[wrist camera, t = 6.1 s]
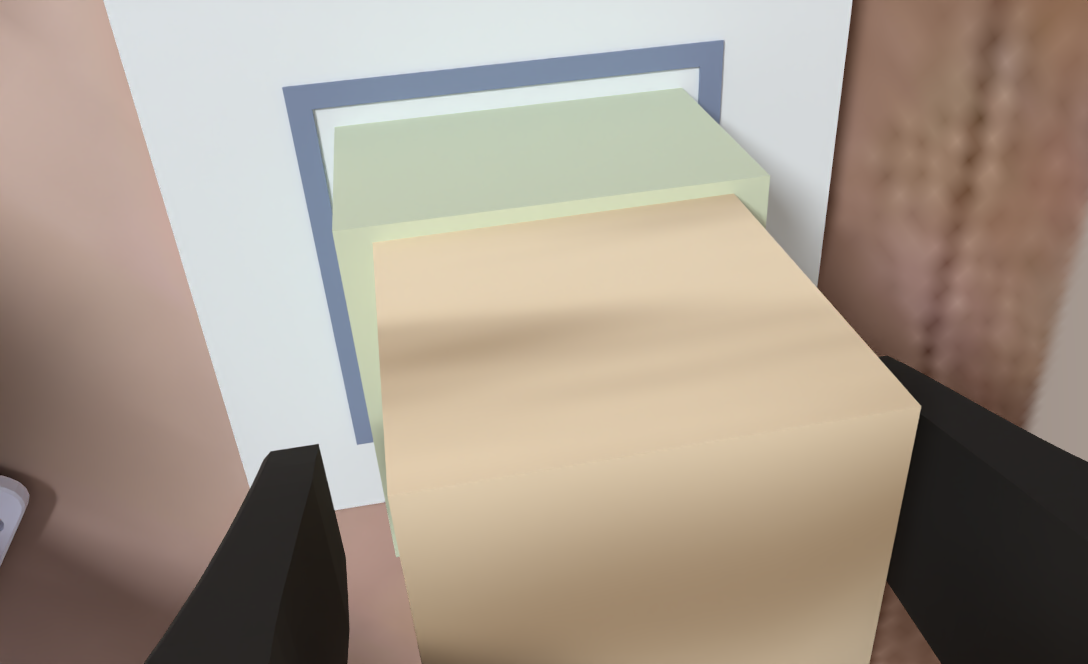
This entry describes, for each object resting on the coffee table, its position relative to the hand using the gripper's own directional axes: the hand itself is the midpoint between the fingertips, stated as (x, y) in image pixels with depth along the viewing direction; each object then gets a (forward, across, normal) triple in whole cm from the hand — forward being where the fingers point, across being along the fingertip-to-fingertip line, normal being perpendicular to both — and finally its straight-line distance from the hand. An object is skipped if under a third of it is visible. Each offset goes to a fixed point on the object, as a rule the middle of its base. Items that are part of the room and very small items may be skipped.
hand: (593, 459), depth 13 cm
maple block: (+2, 0, 0) cm, 2 cm away
